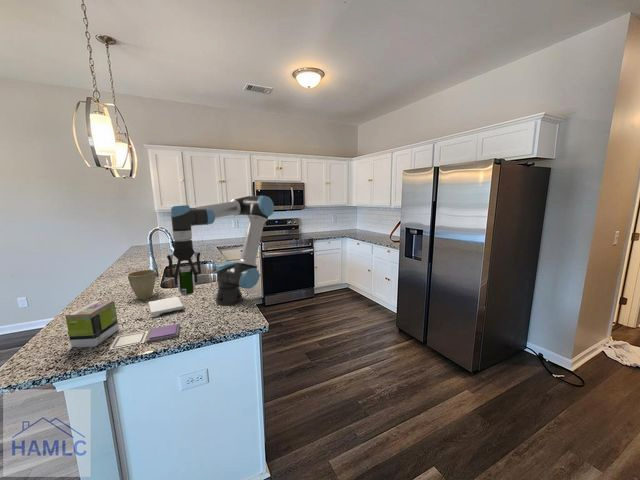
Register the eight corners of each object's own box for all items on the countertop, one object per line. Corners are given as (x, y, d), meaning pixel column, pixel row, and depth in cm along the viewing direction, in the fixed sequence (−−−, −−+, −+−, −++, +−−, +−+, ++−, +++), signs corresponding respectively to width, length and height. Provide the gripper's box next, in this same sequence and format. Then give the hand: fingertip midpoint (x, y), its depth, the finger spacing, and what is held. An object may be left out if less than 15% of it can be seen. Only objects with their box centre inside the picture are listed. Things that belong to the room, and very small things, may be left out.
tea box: (97, 330, 126) (92, 300, 124) (119, 329, 126) (115, 299, 124) (69, 348, 111) (64, 314, 109) (95, 347, 112) (90, 313, 109)
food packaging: (149, 307, 155) (151, 318, 139) (148, 301, 155) (151, 312, 138) (178, 301, 164) (183, 311, 147) (177, 296, 163) (183, 305, 147)
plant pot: (128, 297, 170) (125, 272, 167) (155, 291, 179) (153, 268, 177) (132, 303, 158) (128, 277, 156) (160, 297, 168) (158, 272, 166)
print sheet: (148, 331, 125) (148, 330, 125) (143, 343, 114) (143, 342, 114) (117, 336, 120) (117, 336, 120) (108, 350, 109) (108, 349, 109)
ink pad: (180, 325, 130) (179, 322, 130) (178, 336, 119) (177, 333, 119) (151, 330, 125) (150, 327, 125) (146, 342, 114) (146, 339, 114)
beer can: (191, 295, 121) (189, 269, 120) (178, 296, 121) (176, 270, 119) (195, 291, 127) (193, 266, 125) (183, 292, 126) (181, 267, 124)
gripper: (158, 242, 113) (163, 295, 116) (205, 239, 121) (209, 289, 124) (160, 240, 120) (164, 290, 123) (205, 237, 127) (208, 285, 131)
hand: (187, 290), depth 123 cm, fingers closed on beer can, 5 cm apart
